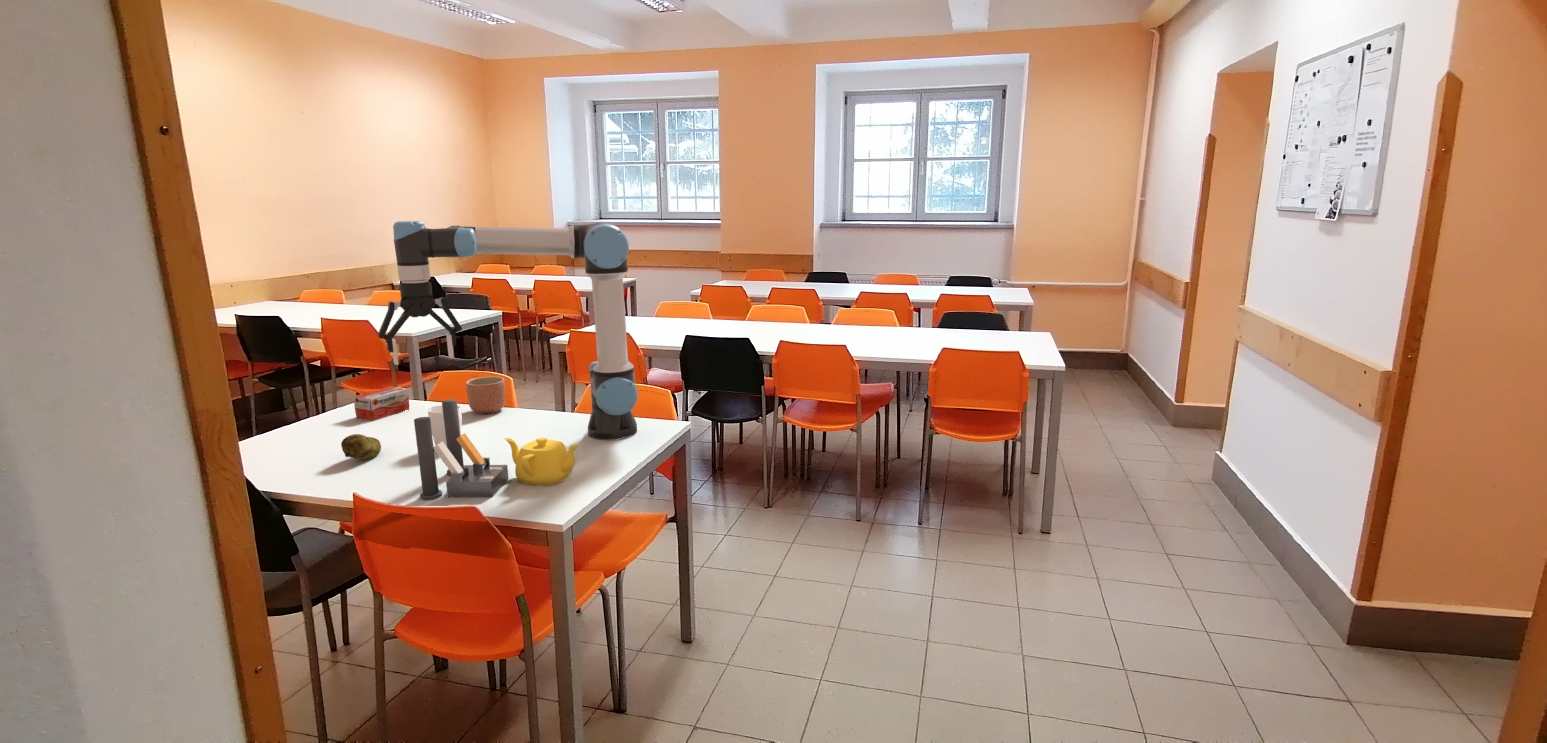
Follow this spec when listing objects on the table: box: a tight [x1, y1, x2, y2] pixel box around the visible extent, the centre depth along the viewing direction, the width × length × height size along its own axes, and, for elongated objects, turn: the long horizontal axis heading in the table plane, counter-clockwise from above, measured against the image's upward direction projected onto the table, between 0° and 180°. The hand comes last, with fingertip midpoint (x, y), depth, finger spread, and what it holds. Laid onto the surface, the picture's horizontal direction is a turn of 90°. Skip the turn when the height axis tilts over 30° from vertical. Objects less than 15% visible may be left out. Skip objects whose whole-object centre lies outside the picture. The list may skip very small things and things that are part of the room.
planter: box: [465, 376, 506, 415], centre depth 259 cm, size 12×12×11 cm
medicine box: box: [353, 385, 410, 422], centre depth 257 cm, size 15×8×8 cm, turn 156°
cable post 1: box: [413, 416, 443, 501], centre depth 185 cm, size 5×5×20 cm
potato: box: [340, 433, 382, 460], centre depth 213 cm, size 8×13×8 cm, turn 158°
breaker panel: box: [445, 457, 510, 498], centre depth 191 cm, size 11×12×6 cm
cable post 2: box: [441, 398, 465, 477], centre depth 200 cm, size 5×5×20 cm
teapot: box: [504, 437, 580, 486], centre depth 196 cm, size 22×16×11 cm
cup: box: [427, 404, 463, 447], centre depth 222 cm, size 9×9×12 cm
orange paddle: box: [456, 432, 487, 467], centre depth 193 cm, size 2×3×10 cm, turn 179°
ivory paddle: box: [433, 441, 466, 477], centre depth 186 cm, size 2×3×10 cm, turn 179°
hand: (424, 360), depth 201 cm, fingers open, 13 cm apart
